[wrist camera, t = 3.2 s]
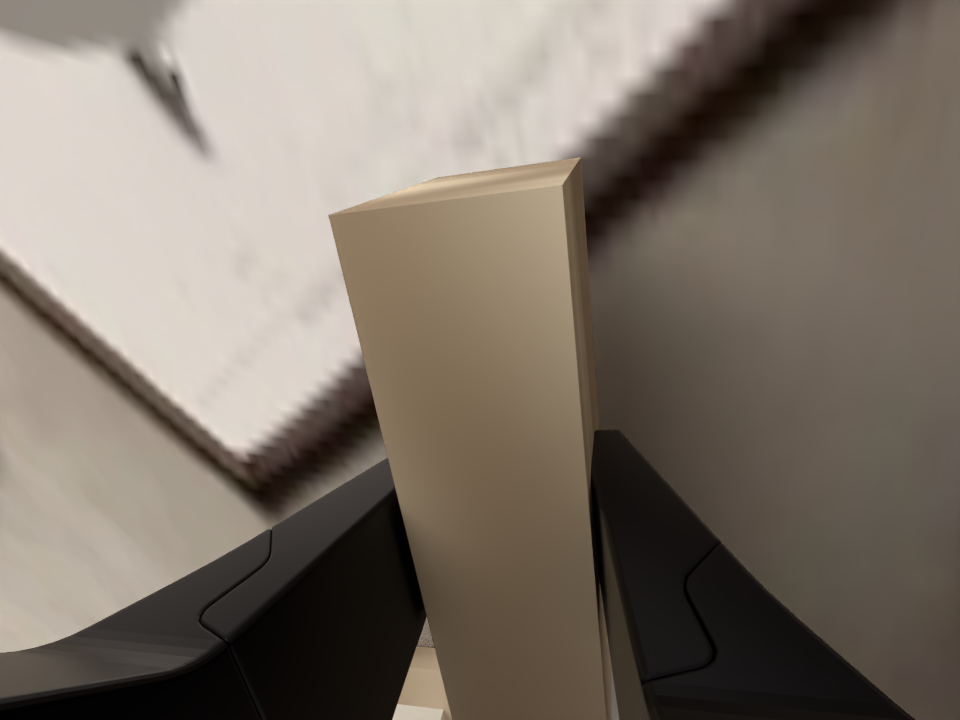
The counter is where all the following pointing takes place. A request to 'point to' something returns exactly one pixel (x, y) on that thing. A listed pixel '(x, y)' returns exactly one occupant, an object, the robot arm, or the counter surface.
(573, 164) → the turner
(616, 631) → the robot arm
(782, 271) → the counter surface
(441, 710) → the tile
